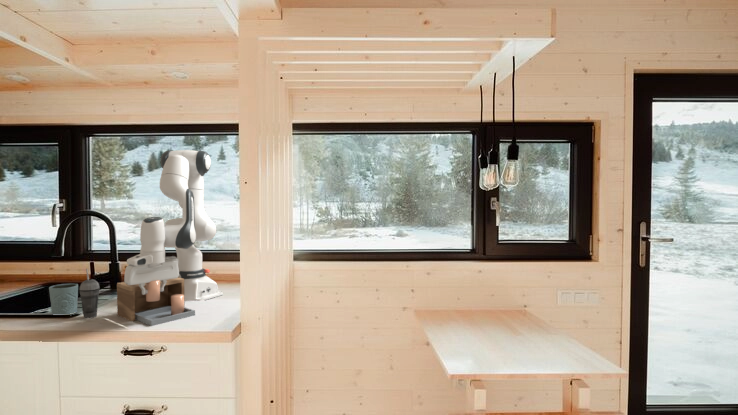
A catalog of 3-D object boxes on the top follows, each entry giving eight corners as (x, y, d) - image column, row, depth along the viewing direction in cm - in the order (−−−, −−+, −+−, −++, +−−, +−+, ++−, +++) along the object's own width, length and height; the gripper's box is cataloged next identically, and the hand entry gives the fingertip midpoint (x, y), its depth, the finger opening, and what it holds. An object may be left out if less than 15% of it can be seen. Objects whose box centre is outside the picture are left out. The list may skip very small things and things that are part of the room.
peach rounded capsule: (156, 297, 173) (156, 278, 173) (162, 299, 170) (162, 279, 170) (143, 300, 169) (143, 280, 169) (149, 302, 166) (149, 281, 166)
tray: (176, 310, 187) (176, 304, 187) (195, 316, 178) (195, 310, 178) (133, 320, 173) (133, 313, 172) (151, 327, 164) (151, 320, 163)
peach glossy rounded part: (180, 312, 182) (180, 293, 182) (186, 314, 179) (186, 295, 179) (168, 314, 178) (168, 295, 178) (175, 317, 175) (174, 297, 175)
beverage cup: (90, 320, 172) (89, 270, 171) (74, 318, 173) (74, 269, 173) (104, 314, 179) (104, 267, 178) (90, 313, 181) (89, 266, 180)
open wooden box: (169, 305, 194) (168, 275, 194) (184, 310, 187) (184, 278, 186) (117, 316, 177) (116, 283, 176) (131, 322, 169) (131, 287, 168)
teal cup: (64, 318, 174) (63, 289, 174) (43, 316, 176) (42, 287, 175) (84, 311, 184) (84, 283, 184) (64, 309, 186) (63, 282, 185)
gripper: (174, 254, 180) (174, 287, 180) (122, 260, 163) (122, 296, 164) (182, 256, 176) (182, 289, 176) (130, 261, 160) (130, 298, 160)
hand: (152, 292), depth 170 cm, fingers closed on peach rounded capsule, 5 cm apart
